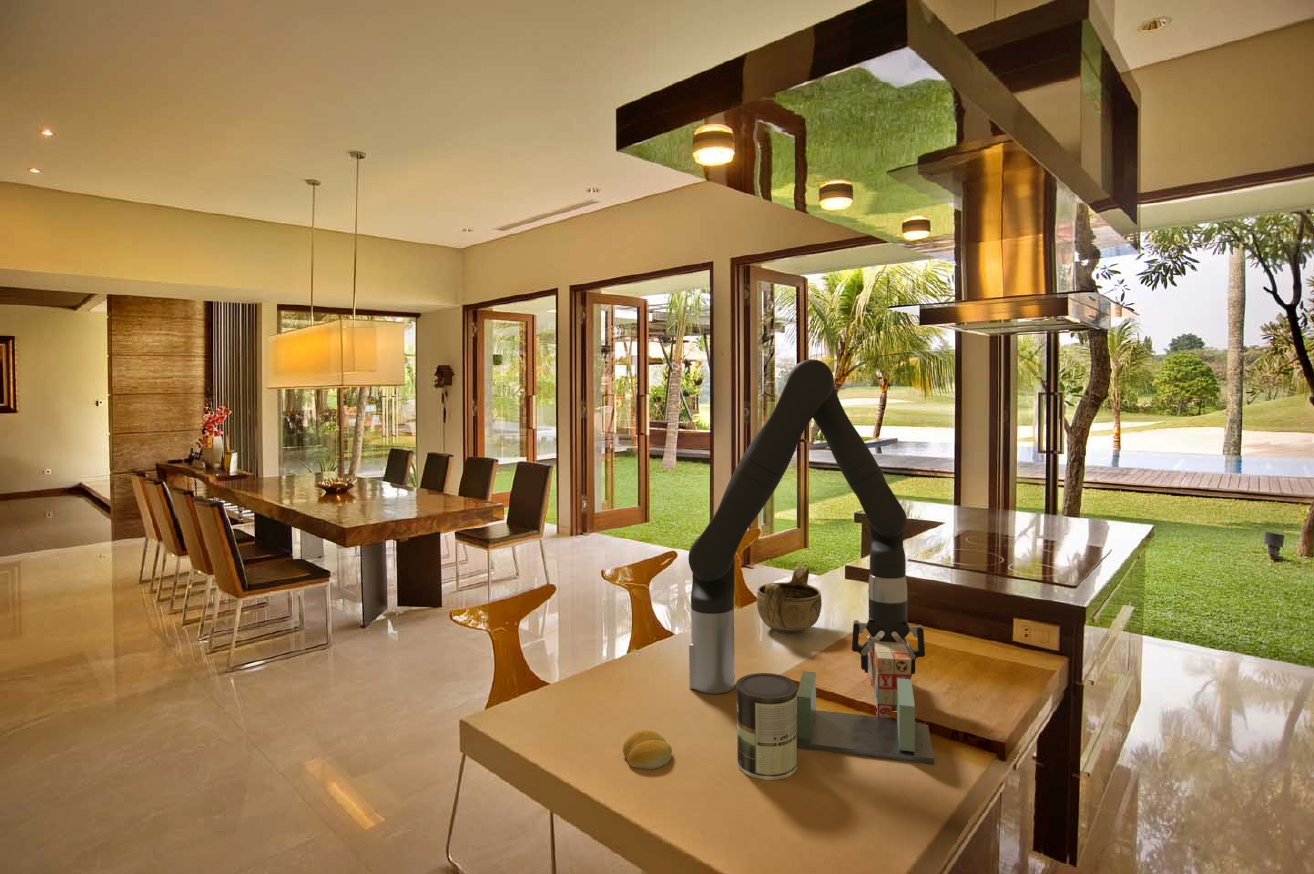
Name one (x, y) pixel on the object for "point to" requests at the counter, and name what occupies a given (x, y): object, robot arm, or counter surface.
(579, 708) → the counter surface
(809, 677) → the vise
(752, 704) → the coffee can
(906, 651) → the stack of blocks
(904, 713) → the sliding jaw
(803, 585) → the ceramic bowl
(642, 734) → the bread roll
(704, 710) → the counter surface
